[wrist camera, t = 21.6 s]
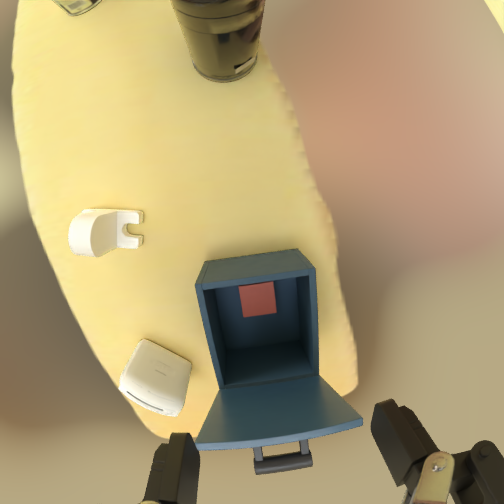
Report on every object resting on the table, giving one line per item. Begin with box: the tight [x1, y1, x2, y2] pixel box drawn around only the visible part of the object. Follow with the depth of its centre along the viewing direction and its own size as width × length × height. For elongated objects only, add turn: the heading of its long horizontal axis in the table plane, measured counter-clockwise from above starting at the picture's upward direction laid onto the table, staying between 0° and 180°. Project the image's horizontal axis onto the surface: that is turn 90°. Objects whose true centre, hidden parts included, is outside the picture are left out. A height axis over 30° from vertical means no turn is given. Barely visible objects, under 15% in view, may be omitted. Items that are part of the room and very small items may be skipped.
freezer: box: [195, 249, 319, 389], centre depth 37 cm, size 16×14×10 cm
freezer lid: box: [195, 375, 363, 475], centre depth 25 cm, size 16×14×5 cm
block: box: [238, 281, 277, 317], centre depth 38 cm, size 4×4×4 cm
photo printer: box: [118, 339, 192, 417], centre depth 38 cm, size 10×4×12 cm, turn 59°
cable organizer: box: [68, 209, 143, 257], centre depth 33 cm, size 5×10×10 cm, turn 85°
